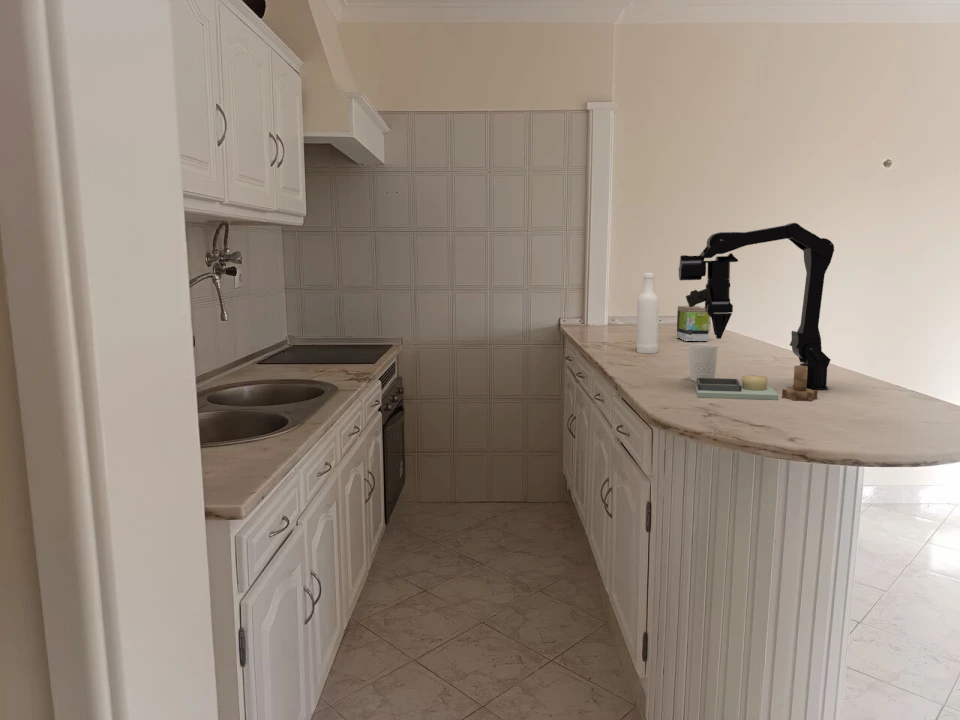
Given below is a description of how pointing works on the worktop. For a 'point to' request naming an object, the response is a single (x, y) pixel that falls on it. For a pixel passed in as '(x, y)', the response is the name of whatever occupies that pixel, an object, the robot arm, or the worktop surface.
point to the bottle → (647, 317)
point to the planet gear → (800, 386)
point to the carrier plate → (736, 388)
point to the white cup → (702, 361)
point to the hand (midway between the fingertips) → (717, 336)
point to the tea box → (692, 323)
